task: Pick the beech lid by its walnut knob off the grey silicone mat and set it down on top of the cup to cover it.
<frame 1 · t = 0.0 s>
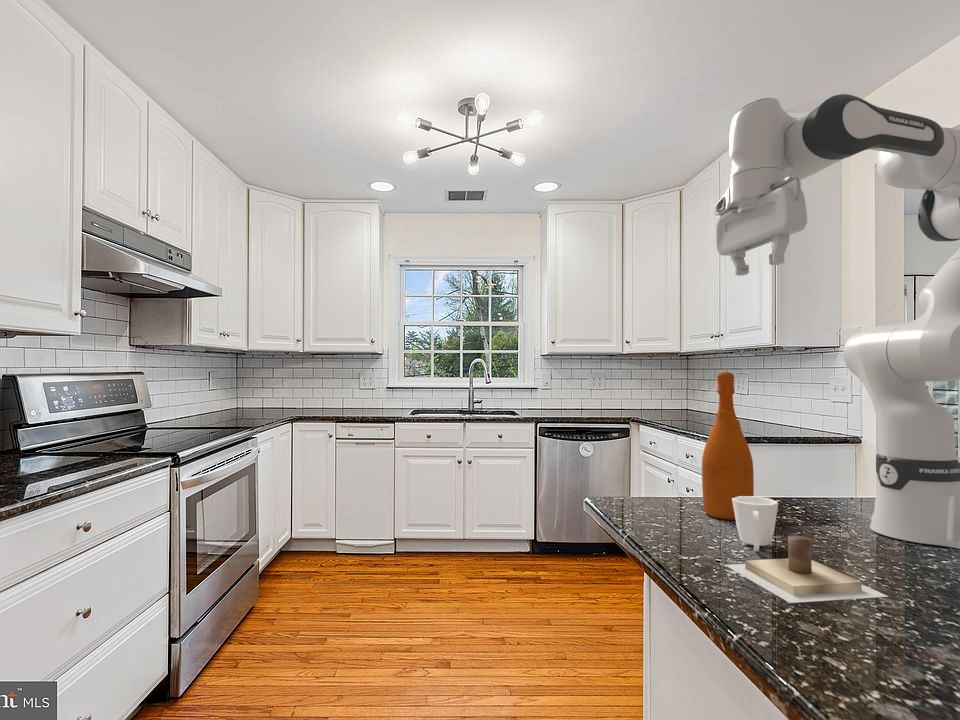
hand: (758, 269, 96), 48 cm above the countertop, fingers open, 8 cm apart
lid: (800, 579, 76), resting on mat
cup: (755, 551, 90), on the countertop
mat: (800, 583, 76), on the countertop
wine bottle: (728, 516, 113), on the countertop
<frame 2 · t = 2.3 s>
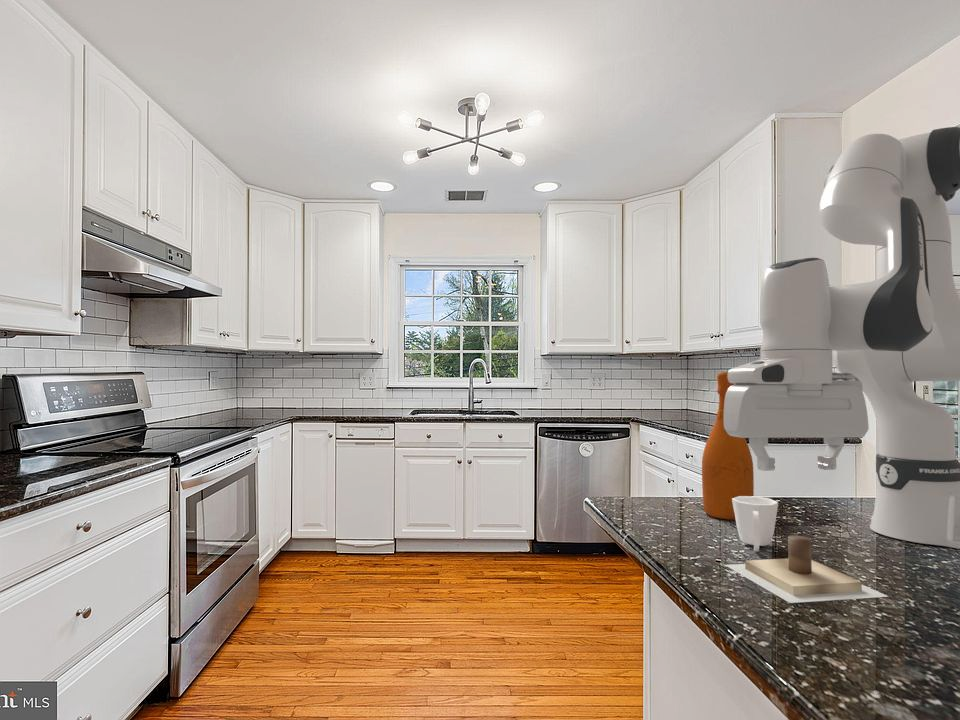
hand: (796, 469, 76), 16 cm above the countertop, fingers open, 8 cm apart
nothing on the countertop moved.
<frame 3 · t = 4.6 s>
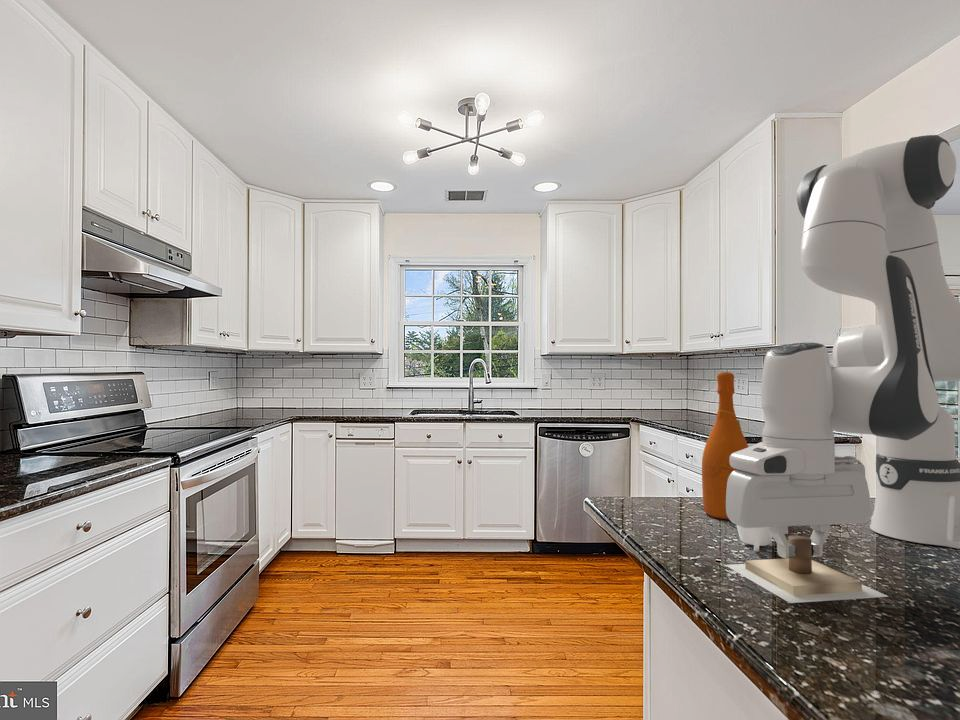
hand: (799, 556, 76), 4 cm above the countertop, fingers closed on lid, 3 cm apart
lid: (800, 579, 76), resting on mat, touching gripper
everything else where it was.
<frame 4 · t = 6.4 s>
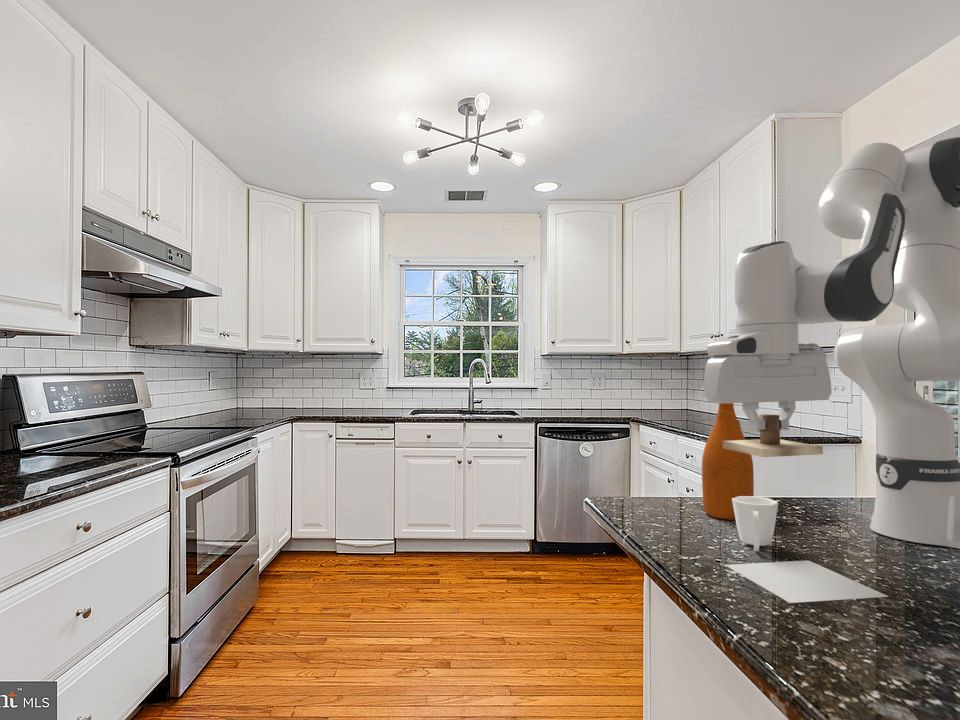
hand: (769, 430, 86), 20 cm above the countertop, fingers closed on lid, 3 cm apart
lid: (770, 451, 86), point 17 cm above the countertop, touching gripper
everything else where it was.
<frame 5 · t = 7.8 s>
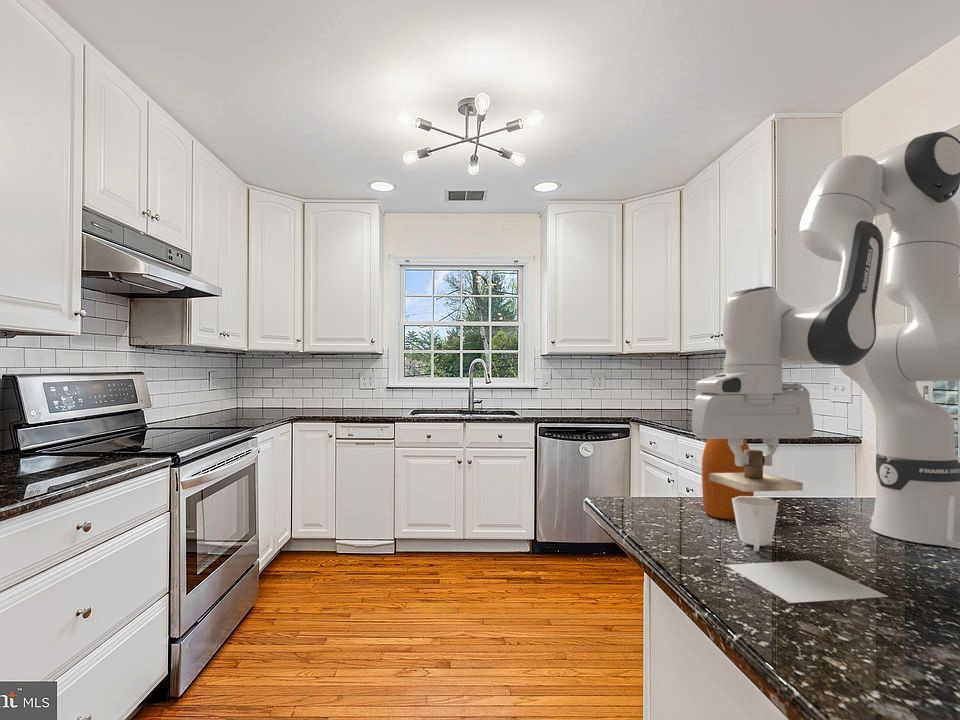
hand: (753, 465, 91), 14 cm above the countertop, fingers closed on lid, 3 cm apart
lid: (753, 484, 91), point 11 cm above the countertop, touching gripper
everything else where it was.
when the fingers open (13 cm above the countertop, at t = 8.6 s): lid drops 1 cm, resting on cup.
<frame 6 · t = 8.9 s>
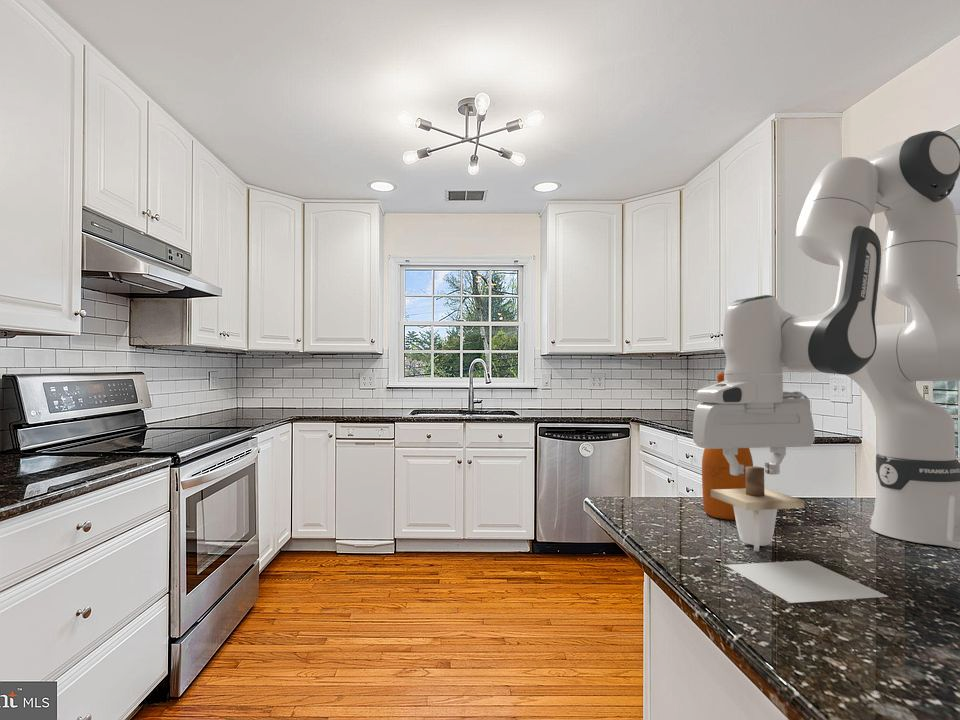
hand: (754, 474, 91), 13 cm above the countertop, fingers open, 5 cm apart
lid: (755, 501, 91), point 8 cm above the countertop, touching cup
cup: (755, 551, 90), on the countertop, touching lid
everything else where it was.
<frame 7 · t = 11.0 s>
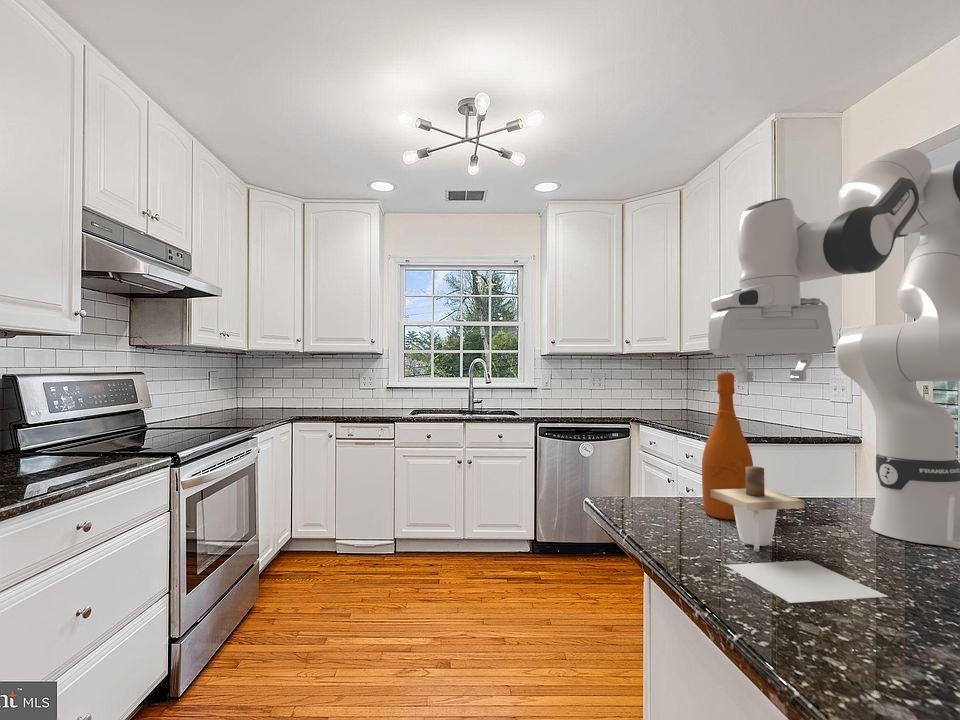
hand: (772, 381, 89), 28 cm above the countertop, fingers open, 8 cm apart
nothing on the countertop moved.
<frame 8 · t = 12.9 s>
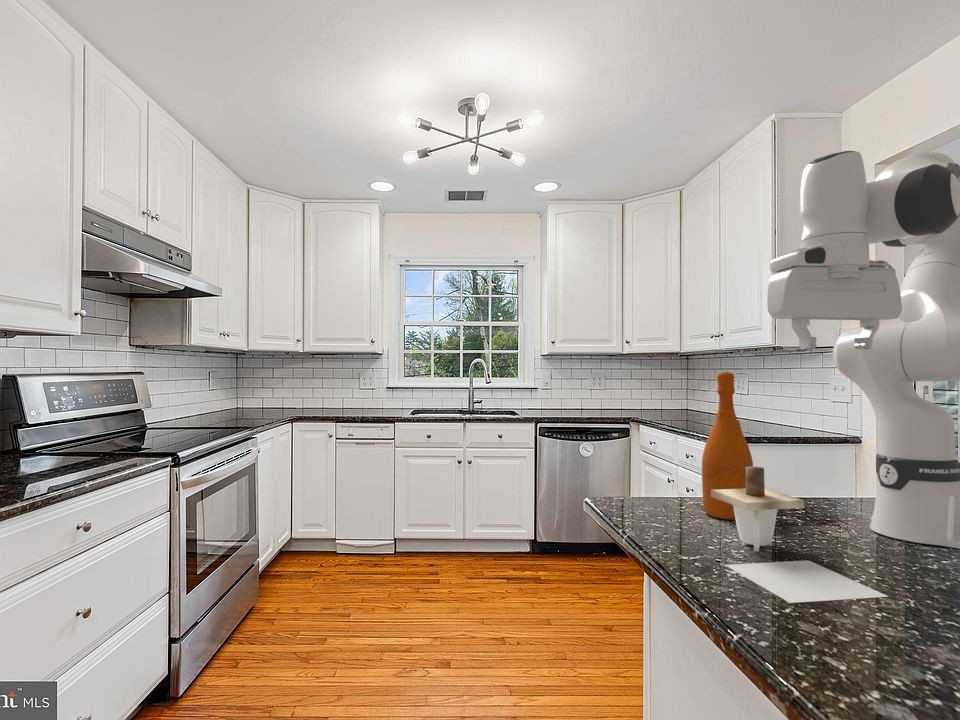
hand: (835, 349, 82), 33 cm above the countertop, fingers open, 8 cm apart
nothing on the countertop moved.
at the end: lid 0.1 cm from the cup (horizontally); lid point 8.0 cm above the countertop; cup tilted 0° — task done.
